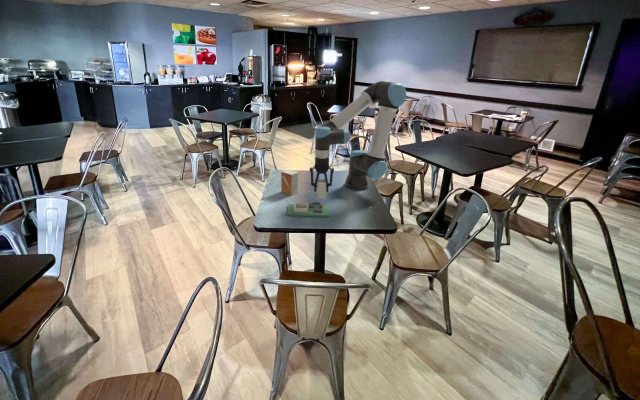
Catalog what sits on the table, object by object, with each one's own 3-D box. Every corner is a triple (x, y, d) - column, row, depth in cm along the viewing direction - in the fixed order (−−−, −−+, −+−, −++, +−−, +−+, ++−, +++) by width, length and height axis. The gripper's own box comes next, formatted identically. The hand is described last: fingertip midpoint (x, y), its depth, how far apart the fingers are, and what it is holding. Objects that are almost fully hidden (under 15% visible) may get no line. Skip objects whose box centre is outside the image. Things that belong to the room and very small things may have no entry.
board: (329, 207, 175) (329, 201, 174) (329, 217, 164) (330, 210, 163) (288, 205, 174) (288, 199, 173) (286, 215, 163) (286, 209, 162)
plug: (324, 196, 181) (325, 178, 177) (324, 198, 178) (325, 181, 173) (317, 195, 181) (317, 178, 177) (317, 198, 178) (317, 181, 173)
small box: (281, 192, 192) (281, 171, 186) (288, 189, 196) (288, 169, 191) (291, 195, 187) (291, 174, 182) (298, 192, 192) (298, 172, 187)
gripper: (337, 155, 173) (335, 194, 183) (306, 154, 173) (306, 194, 183) (338, 159, 166) (336, 200, 176) (305, 158, 166) (305, 199, 176)
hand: (321, 196), depth 179 cm, fingers closed on plug, 4 cm apart
